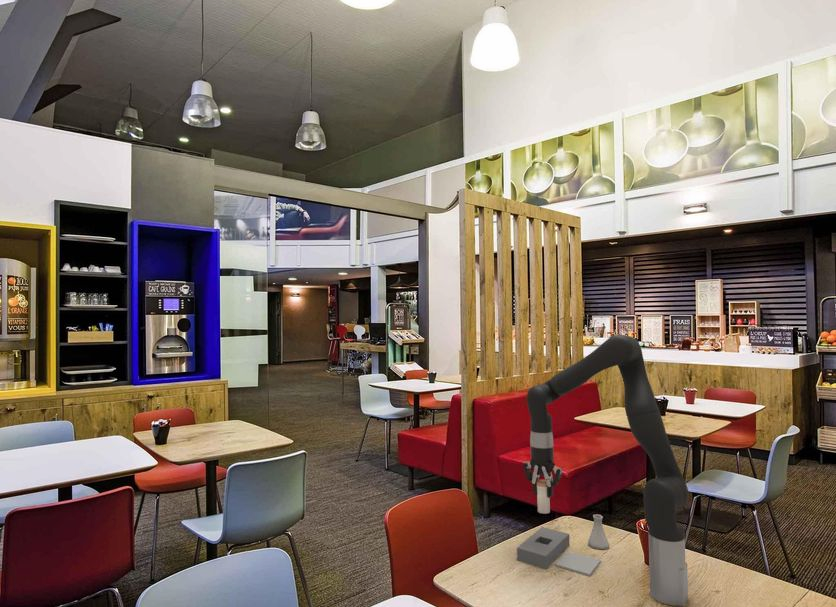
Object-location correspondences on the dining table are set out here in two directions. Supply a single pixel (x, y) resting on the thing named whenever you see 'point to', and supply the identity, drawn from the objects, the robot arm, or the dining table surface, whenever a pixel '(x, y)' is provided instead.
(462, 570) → the dining table surface
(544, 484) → the plug
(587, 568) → the mat
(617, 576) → the dining table surface
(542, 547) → the grey socket block
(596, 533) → the flask
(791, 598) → the dining table surface
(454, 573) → the dining table surface
